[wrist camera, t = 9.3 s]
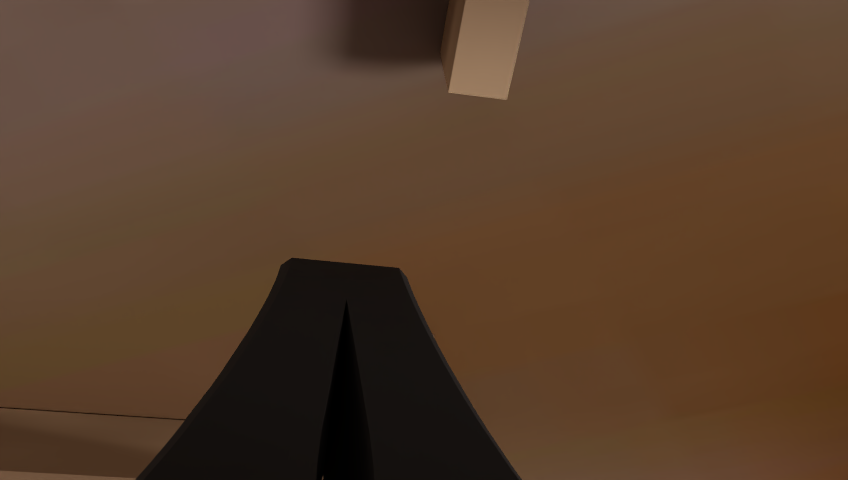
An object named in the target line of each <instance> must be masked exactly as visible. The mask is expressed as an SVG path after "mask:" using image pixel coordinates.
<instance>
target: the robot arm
mask: <svg viewBox="0 0 848 480" xmlns="http://www.w3.org/2000/svg"><path fill="white" fill-rule="evenodd" d="M322 478H323V480H522V479H521V478H520V477H519V475H518V474H517V472H516V471H515V470H514V468H513V467H512V465H511V464H510V462H509V461H508V459H507V458H506V457H505V455H504V454H503V452H502V451H501V449H500V448H499V446H498V445H497V443H496V442H495V440H494V439H493V437H492V436H491V434H490V433H489V431H488V430H487V428H486V427H485V425H484V423H483V422H482V420H481V419H480V417H479V416H478V414H477V412H476V411H475V409H474V408H473V406H472V404H471V403H470V401H469V399H468V397H467V396H466V394H465V392H464V391H463V389H462V387H461V385H460V384H459V382H458V380H457V379H456V377H455V375H454V373H453V372H452V370H451V368H450V367H449V365H448V363H447V361H446V359H445V357H444V356H443V354H442V352H441V350H440V348H439V346H438V344H437V342H436V340H435V339H434V337H433V335H432V333H431V331H430V329H429V327H428V325H427V323H426V321H425V319H424V316H423V314H422V312H421V310H420V308H419V306H418V303H417V301H416V299H415V297H414V294H413V292H412V290H411V287H410V285H409V282H408V279H407V277H406V276H405V275H404V273H403V272H402V271H401V270H400V269H399V268H393V267H383V266H372V265H362V264H351V263H341V262H330V261H320V260H309V259H299V258H291V259H289V260H288V261H286V262H285V263H284V264H282V265H281V266H280V270H279V273H278V276H277V278H276V281H275V283H274V285H273V287H272V289H271V292H270V294H269V296H268V298H267V299H266V301H265V303H264V305H263V307H262V309H261V310H260V312H259V314H258V316H257V317H256V319H255V321H254V322H253V324H252V326H251V328H250V329H249V331H248V333H247V334H246V336H245V337H244V339H243V340H242V342H241V343H240V345H239V346H238V348H237V349H236V351H235V352H234V354H233V355H232V357H231V358H230V360H229V361H228V363H227V364H226V366H225V367H224V369H223V370H222V372H221V373H220V375H219V376H218V377H217V379H216V380H215V382H214V383H213V384H212V386H211V387H210V388H209V390H208V391H207V392H206V394H205V395H204V396H203V397H202V399H201V400H200V401H199V403H198V404H197V405H196V406H195V408H194V409H193V410H192V412H191V413H190V414H189V415H188V417H187V418H186V419H185V421H184V422H183V423H182V425H181V426H180V427H179V428H178V430H177V431H176V432H175V434H174V435H173V436H172V437H171V439H170V440H169V441H168V442H167V443H166V445H165V446H164V447H163V448H162V449H161V450H160V452H159V453H158V454H157V455H156V456H155V457H154V459H153V460H152V461H151V462H150V463H149V465H148V466H147V467H146V468H145V469H144V470H143V471H142V472H141V474H140V475H139V476H138V477H137V478H136V479H135V480H322Z"/></svg>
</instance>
